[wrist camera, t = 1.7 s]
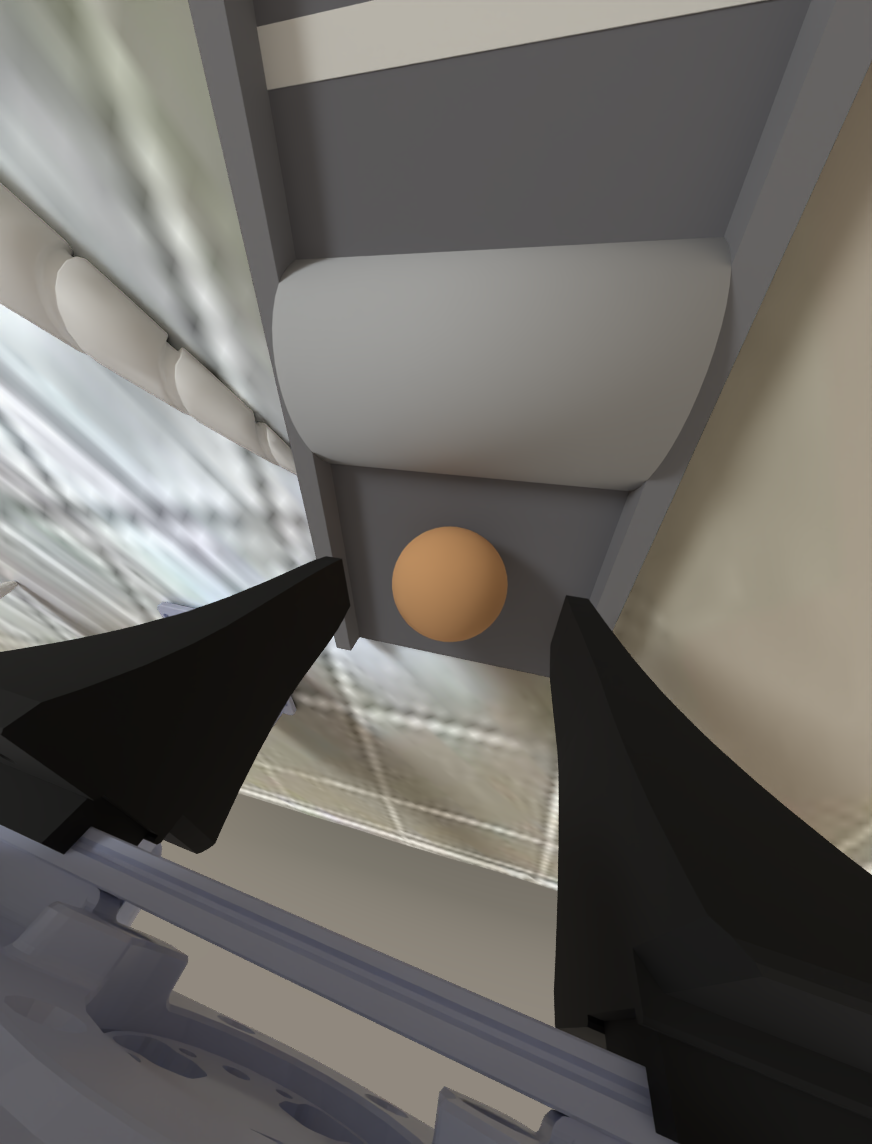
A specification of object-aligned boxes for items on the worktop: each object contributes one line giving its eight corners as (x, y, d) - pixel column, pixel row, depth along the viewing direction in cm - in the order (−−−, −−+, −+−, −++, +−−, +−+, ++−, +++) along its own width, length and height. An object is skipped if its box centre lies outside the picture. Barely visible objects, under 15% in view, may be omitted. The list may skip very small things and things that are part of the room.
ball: (503, 602, 13) (493, 679, 10) (414, 587, 14) (378, 653, 11) (518, 515, 11) (512, 577, 8) (411, 503, 12) (366, 554, 9)
